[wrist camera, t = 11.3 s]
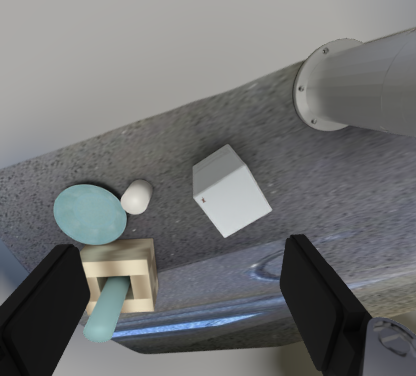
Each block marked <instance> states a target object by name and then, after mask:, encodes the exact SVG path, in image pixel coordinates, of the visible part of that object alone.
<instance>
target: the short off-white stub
mask: <svg viewBox="0 0 416 376" xmlns="http://www.w3.org/2000/svg"><path fill="white" fill-rule="evenodd" d="M152 193H153V188H152V186H151V184H150V183H149V182H147V181H145V180H141V179H139V180H135V181H133V182H132V183H131V185H130V186H129V187H128V189H127V190H126V192H125V193H124V194H123V196H122V198H121V206H122V208H123V209H124V210H125V211H126V212H128V213H130V214H140V213H142V212H144V211H145V210H146V208H147V206H148V203H149V201H150V198H151V196H152Z"/></svg>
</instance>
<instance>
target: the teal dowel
mask: <svg viewBox="0 0 416 376" xmlns="http://www.w3.org/2000/svg"><path fill="white" fill-rule="evenodd" d="M130 282H131V279H130V275H128V276H109V277H108V279H107V282H106V284H105V286H104V288H103V290H102V292H101V294H100V296H99V298H98V301H97V303H96V305H95V307H94V309H93V311H92V313H91V315H90V318H89V320H88V322H87V324H86V326H85V328H84V335H85V337H86V338H87V339H89V340H90V341H93V342H105V341H108V340H109V339H111V337H112V335H113V332H114V330H115V327H116V324H117V321H118V318H119V315H120V312H121V309H122V306H123V303H124V300H125V297H126V294H127V291H128V288H129V285H130Z"/></svg>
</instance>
